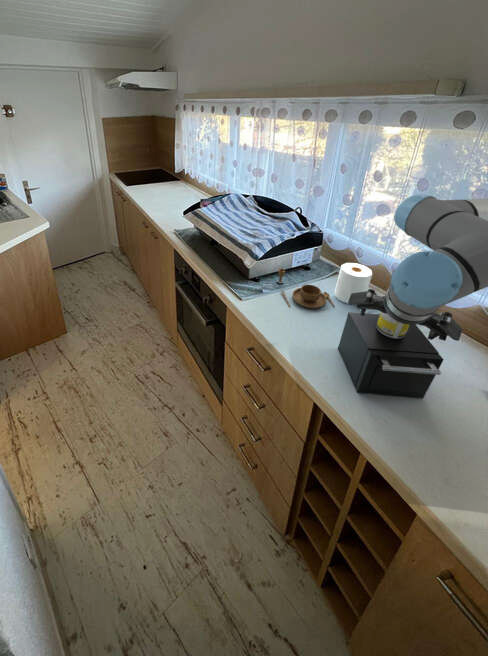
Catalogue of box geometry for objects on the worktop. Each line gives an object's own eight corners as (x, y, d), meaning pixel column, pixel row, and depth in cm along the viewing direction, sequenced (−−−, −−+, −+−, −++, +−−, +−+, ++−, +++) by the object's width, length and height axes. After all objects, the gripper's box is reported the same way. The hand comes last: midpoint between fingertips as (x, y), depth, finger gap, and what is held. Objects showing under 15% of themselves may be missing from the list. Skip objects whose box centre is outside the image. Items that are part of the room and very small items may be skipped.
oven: (419, 392, 79) (439, 353, 72) (354, 387, 81) (368, 348, 74) (393, 352, 91) (408, 315, 85) (337, 348, 93) (348, 312, 86)
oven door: (430, 409, 75) (452, 370, 68) (361, 403, 76) (376, 364, 70) (419, 393, 79) (439, 354, 72) (354, 387, 80) (368, 349, 74)
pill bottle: (405, 328, 80) (420, 292, 75) (404, 343, 75) (420, 305, 70) (377, 319, 83) (389, 284, 78) (374, 333, 79) (387, 296, 73)
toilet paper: (353, 287, 121) (360, 261, 116) (369, 303, 112) (379, 275, 107) (329, 290, 120) (335, 263, 115) (343, 306, 111) (351, 278, 106)
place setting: (290, 311, 109) (292, 297, 106) (274, 280, 127) (276, 268, 124) (338, 309, 110) (342, 296, 107) (315, 279, 127) (318, 267, 124)
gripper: (511, 307, 48) (468, 328, 66) (343, 261, 62) (344, 289, 79) (499, 351, 47) (458, 361, 64) (330, 294, 61) (334, 315, 78)
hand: (395, 321), depth 72 cm, fingers open, 13 cm apart
